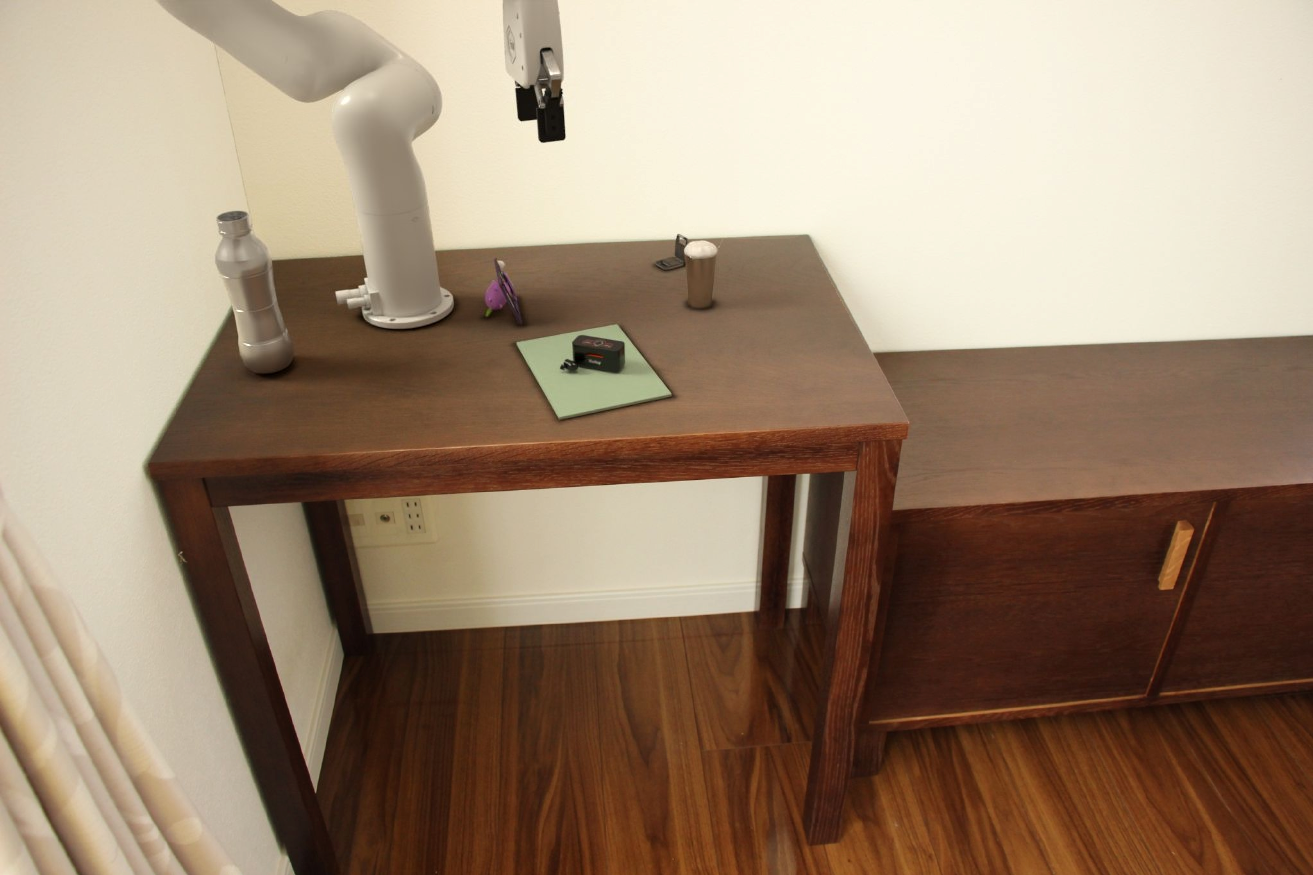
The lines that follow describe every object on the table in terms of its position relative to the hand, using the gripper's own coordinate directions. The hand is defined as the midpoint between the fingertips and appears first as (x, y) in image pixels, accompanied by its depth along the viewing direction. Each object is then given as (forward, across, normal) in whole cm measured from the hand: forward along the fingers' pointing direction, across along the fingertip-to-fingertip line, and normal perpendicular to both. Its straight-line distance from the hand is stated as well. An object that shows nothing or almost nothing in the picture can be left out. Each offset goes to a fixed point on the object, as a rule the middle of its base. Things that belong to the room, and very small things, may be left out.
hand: (541, 130), depth 120 cm
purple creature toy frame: (+26, -6, -6) cm, 28 cm away
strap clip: (+26, -13, +24) cm, 38 cm away
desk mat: (+26, +14, 0) cm, 30 cm away
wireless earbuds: (+26, +14, 0) cm, 30 cm away
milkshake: (+26, +2, +21) cm, 34 cm away
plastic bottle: (+26, -2, -37) cm, 46 cm away
